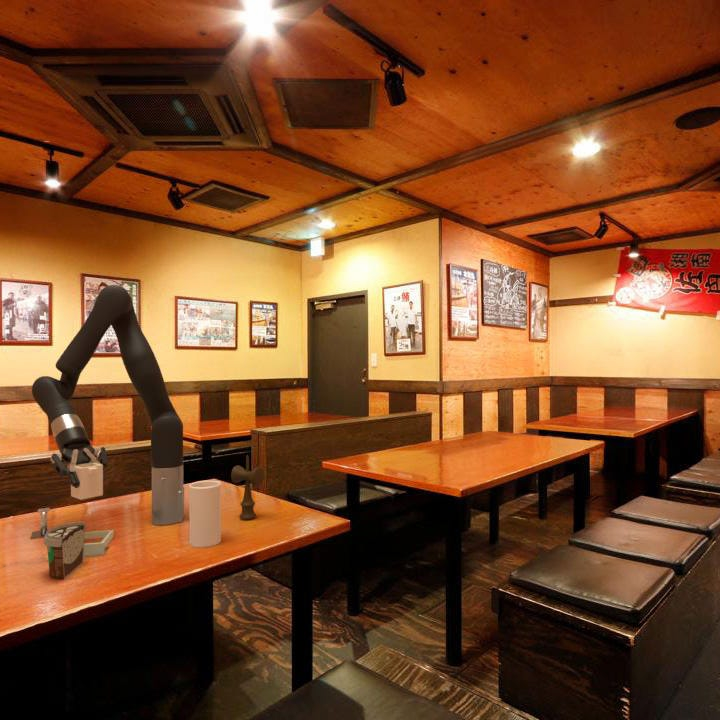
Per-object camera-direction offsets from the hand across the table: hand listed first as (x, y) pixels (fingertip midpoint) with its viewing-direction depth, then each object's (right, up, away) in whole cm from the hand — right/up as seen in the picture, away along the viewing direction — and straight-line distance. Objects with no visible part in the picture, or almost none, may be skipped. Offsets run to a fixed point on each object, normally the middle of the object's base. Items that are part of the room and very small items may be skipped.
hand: (90, 483), depth 132 cm
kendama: (+35, -18, +27) cm, 48 cm away
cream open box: (-1, -3, +1) cm, 4 cm away
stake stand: (-17, -18, +10) cm, 27 cm away
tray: (-1, -18, +1) cm, 18 cm away
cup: (+28, -18, +7) cm, 34 cm away
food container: (0, -18, -13) cm, 22 cm away
